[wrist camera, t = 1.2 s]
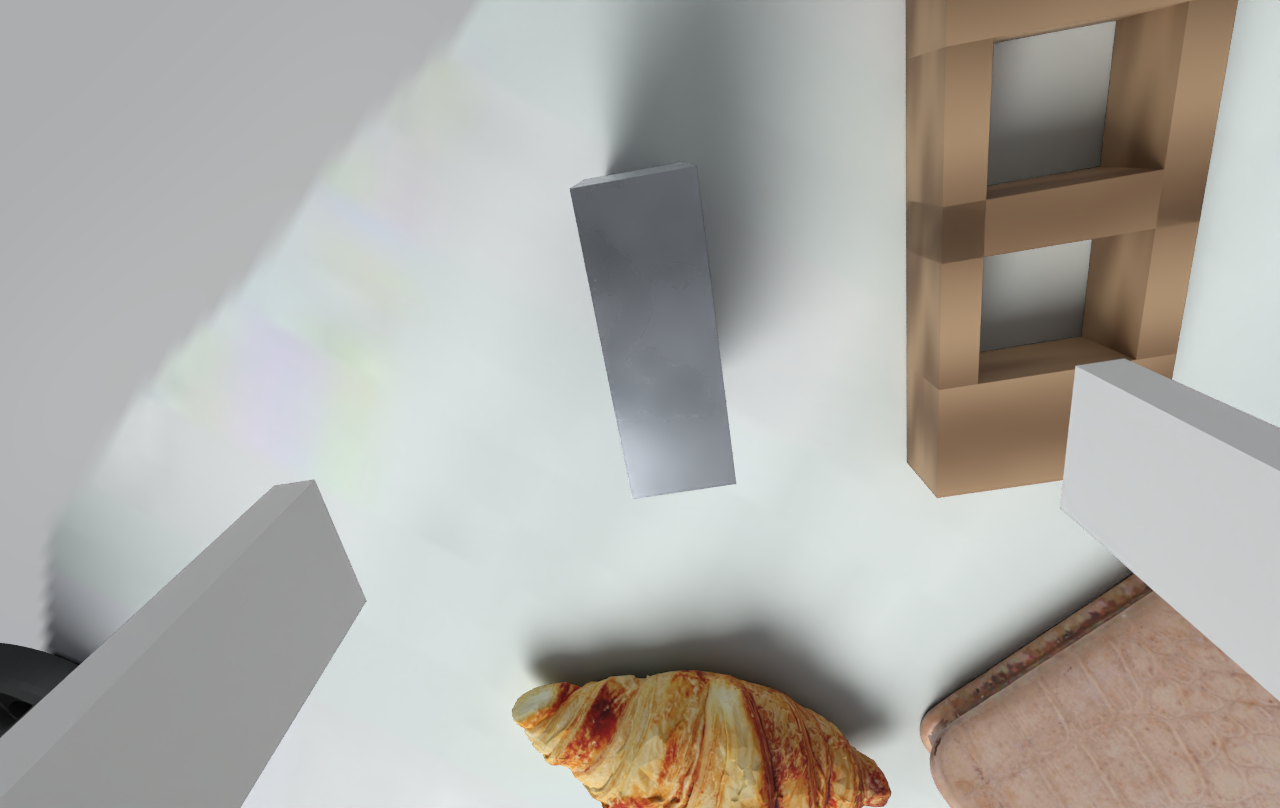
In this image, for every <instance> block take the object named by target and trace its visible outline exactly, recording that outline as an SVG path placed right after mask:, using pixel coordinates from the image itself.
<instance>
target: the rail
mask: <svg viewBox="0 0 1280 808" xmlns="http://www.w3.org/2000/svg"><path fill="white" fill-rule="evenodd" d="M1237 4H1238V0H906V292H907V463H908V464H909V465H910V467H911V468H912V469H913V470H914V471H915V473H916V474H917V475H918V476H919V477H920V478H921V480H922V481H923V482H924V483H925V484H926V486H927V487H928V488H929V489H930V490H931V491H932V493H933V494H934V495H935V496H936V497H937V498H940V497H947V496H954V495H961V494H968V493H975V492H982V491H989V490H996V489H1003V488H1010V487H1017V486H1024V485H1031V484H1038V483H1045V482H1052V481H1059V480H1063V475H1064V466H1065V457H1066V448H1067V439H1068V430H1069V421H1070V412H1071V403H1072V394H1073V385H1074V376H1075V367H1076V366H1077V365H1084V364H1091V363H1097V362H1104V361H1111V360H1118V359H1127V360H1129V361H1131V362H1133V363H1136V364H1138V365H1140V366H1142V367H1145V368H1147V369H1149V370H1151V371H1154V372H1156V373H1158V374H1160V375H1162V376H1165V377H1167V378H1169V379H1171V380H1172V376H1173V370H1174V364H1175V359H1176V353H1177V347H1178V341H1179V336H1180V330H1181V324H1182V319H1183V313H1184V307H1185V301H1186V296H1187V290H1188V284H1189V278H1190V273H1191V267H1192V261H1193V256H1194V250H1195V244H1196V238H1197V233H1198V227H1199V221H1200V216H1201V210H1202V204H1203V198H1204V193H1205V187H1206V181H1207V175H1208V170H1209V164H1210V158H1211V153H1212V147H1213V141H1214V135H1215V130H1216V124H1217V118H1218V113H1219V107H1220V101H1221V95H1222V90H1223V84H1224V78H1225V72H1226V67H1227V61H1228V55H1229V50H1230V44H1231V38H1232V32H1233V27H1234V21H1235V15H1236V9H1237ZM1115 20H1116V29H1115V38H1114V47H1113V56H1112V65H1111V74H1110V83H1109V92H1108V101H1107V110H1106V119H1105V128H1104V137H1103V146H1102V155H1101V164H1100V167H1094V168H1088V169H1083V170H1077V171H1071V172H1065V173H1060V174H1054V175H1048V176H1042V177H1037V178H1031V179H1025V180H1019V181H1013V182H1008V183H1002V184H996V185H990V186H987V171H988V149H989V127H990V105H991V83H992V61H993V43H997V42H1003V41H1008V40H1013V39H1019V38H1024V37H1029V36H1035V35H1040V34H1045V33H1051V32H1056V31H1061V30H1067V29H1072V28H1077V27H1083V26H1088V25H1093V24H1099V23H1104V22H1109V21H1115ZM1089 239H1092V245H1091V254H1090V263H1089V272H1088V281H1087V290H1086V299H1085V308H1084V317H1083V326H1082V335H1081V337H1074V338H1068V339H1061V340H1055V341H1049V342H1042V343H1036V344H1030V345H1023V346H1017V347H1010V348H1004V349H998V350H991V351H985V352H979V348H980V326H981V304H982V282H983V260H984V257H987V256H993V255H999V254H1005V253H1011V252H1017V251H1023V250H1029V249H1035V248H1041V247H1047V246H1053V245H1059V244H1065V243H1071V242H1077V241H1083V240H1089Z"/></svg>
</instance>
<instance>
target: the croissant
mask: <svg viewBox="0 0 1280 808" xmlns="http://www.w3.org/2000/svg"><path fill="white" fill-rule="evenodd" d="M512 717H513V720H514V722H516V723H517V724H518V725H520V726H521V727H523V728H524V729H525V733H526V735H527V736H528V738H529V739H530V741H532V742H533V744H532V745H533V746H534V747H535V748H536V749H537V750H538V751H539V752H540V753H542V754H543V756H544V758H545V760H546V762H548V763H549V764H550V765H562V766H566V767H568V768H569V769H571V770H572V773H573V775H574V777H576V778H577V779H578V780H580V781H581V782H582V784H583V785H584V786H585V787H586V788H587V790H588V792H589V793H590V795H591V796H592V797H593V798H594V799H596V800H598V801H600V802H601V803H602V806H603V808H862V807H863V806H872V807H882V806H884V805H885V804H886V803H887V801H888V799H889V797H890V796H891V790H890V788H889V785H888V782H887V780H886V778H885V776H884V774H883V772H882V771H881V770H880V768H879V767H878V766H877V764H876V763H875V761H874V760H872V759H870V758H869V757H867V756H866V755H864V754H862V753H860V752H858V751H857V750H856V748H855V747H852V746H851V745H850V744H849V742H848V741H847V739H846V738H845V737H844V735H843V734H842V733H841V731H840V730H839V729H838V728H837V727H836V726H835V725H834V724H833V723H832V722H830V721H827V720H826V719H825V718H824V716H821V715H819V714H817V713H816V712H814V711H813V710H811V709H809V708H804V707H802V706H801V705H799V704H798V703H796V702H795V701H794V700H792V699H791V698H790V697H789V696H787V695H786V694H785V693H783V692H780V691H778V690H775V689H772V688H769V687H767V686H763V685H759V684H755V683H750V682H747V681H744V680H739V679H736V678H735V677H733V676H731V675H725V674H718V673H712V672H702V671H698V670H684V671H670V672H665V673H659V674H655V675H652V676H649V675H647V676H646V678H636V677H635V675H624V676H612V677H609V678H607V679H605V680H601V681H599V682H595V681H591V682H589V683H586V684H585V685H584V686H583V687H580V686H577V685H574V684H571V683H568V682H562V683H554V684H548V685H544V686H540V687H537V688H534V689H532V690H530V691H528V692H527V693H525V694H523V695H522V696H521V697H520V698H519V699H518V700H517V702H516V703H515V705H514V708H513V709H512Z"/></svg>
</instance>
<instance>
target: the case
mask: <svg viewBox="0 0 1280 808" xmlns="http://www.w3.org/2000/svg"><path fill="white" fill-rule="evenodd" d="M920 736H921V740H922V742H923V744H924V746H925V748H926V749H927V750H928V751H929V753H930V769H931V774H932V777H933V780H934V782H935V784H936V786H937V788H938V790H939V792H940V793H941V795H942V796H943V798H944V799H945V800H946V802H947V803H948V805H949V806H950V807H951V808H1280V701H1279V700H1277V699H1276V698H1275V697H1274V696H1273V695H1272V694H1271V693H1270V692H1268V691H1267V690H1266V689H1265V688H1264V687H1263V686H1262V685H1260V684H1259V683H1258V682H1257V681H1256V680H1255V679H1254V678H1252V677H1251V676H1250V675H1249V674H1248V673H1247V672H1246V671H1244V670H1243V669H1242V668H1241V667H1240V666H1239V665H1238V664H1237V663H1235V662H1234V661H1233V660H1232V659H1231V658H1230V657H1229V656H1227V655H1226V654H1225V653H1224V652H1223V651H1222V650H1221V649H1219V648H1218V647H1217V646H1216V645H1215V644H1214V643H1213V642H1211V641H1210V640H1209V639H1208V638H1207V637H1206V636H1205V635H1204V634H1202V633H1201V632H1200V631H1199V630H1198V629H1197V628H1196V627H1194V626H1193V625H1192V624H1191V623H1190V622H1189V621H1188V620H1186V619H1185V618H1184V617H1183V616H1182V615H1181V614H1180V613H1179V612H1177V611H1176V610H1175V609H1174V608H1173V607H1172V606H1171V605H1169V604H1168V603H1167V602H1166V601H1165V600H1164V599H1163V598H1161V597H1160V596H1159V595H1158V594H1157V593H1156V592H1155V591H1153V590H1152V589H1151V588H1150V587H1149V586H1148V585H1147V584H1146V583H1144V582H1143V581H1142V580H1141V579H1140V578H1139V577H1138V576H1136V575H1135V574H1132V575H1131V576H1129V577H1128V578H1127V579H1125V580H1124V581H1122V582H1121V583H1119V584H1118V585H1116V586H1115V587H1113V588H1112V589H1110V590H1109V591H1107V592H1106V593H1104V594H1103V595H1101V596H1100V597H1098V598H1096V599H1095V600H1093V601H1092V602H1090V603H1089V604H1088V605H1086V606H1085V607H1083V608H1081V609H1080V610H1078V611H1077V612H1075V613H1074V614H1072V615H1071V616H1069V617H1068V618H1066V619H1065V620H1063V621H1062V622H1060V623H1059V624H1057V625H1056V626H1054V627H1053V628H1051V629H1049V630H1048V631H1047V632H1045V633H1044V634H1042V635H1041V636H1039V637H1038V638H1036V639H1035V640H1033V641H1032V642H1030V643H1029V644H1027V645H1026V646H1024V647H1023V648H1021V649H1020V650H1018V651H1016V652H1015V653H1013V654H1012V655H1011V656H1009V657H1008V658H1006V659H1005V660H1003V661H1001V662H1000V663H998V664H997V665H995V666H994V667H992V668H991V669H989V670H988V671H987V672H986V673H984V674H982V675H981V676H979V677H977V678H976V679H974V680H973V681H971V682H969V683H968V684H966V685H965V686H963V687H962V688H960V689H959V690H957V691H956V692H954V693H953V694H951V695H950V696H948V697H947V698H946V699H944V700H943V701H941V702H940V703H938V704H937V705H936V706H934V707H933V708H932V709H931V710H930V711H928V712H927V713H926V715H925V716H924V718H923V720H922V722H921V725H920Z"/></svg>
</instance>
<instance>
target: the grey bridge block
mask: <svg viewBox="0 0 1280 808" xmlns="http://www.w3.org/2000/svg"><path fill="white" fill-rule="evenodd" d="M570 192H571V197H572V202H573V207H574V212H575V217H576V222H577V227H578V232H579V237H580V242H581V247H582V252H583V257H584V262H585V267H586V272H587V277H588V282H589V287H590V291H591V296H592V301H593V306H594V311H595V316H596V321H597V326H598V331H599V336H600V341H601V346H602V351H603V356H604V361H605V366H606V371H607V376H608V381H609V386H610V391H611V396H612V400H613V405H614V410H615V415H616V420H617V425H618V430H619V435H620V440H621V445H622V450H623V455H624V460H625V465H626V470H627V475H628V480H629V485H630V490H631V495H632V499H636V498H643V497H650V496H657V495H663V494H670V493H677V492H684V491H691V490H697V489H704V488H711V487H718V486H725V485H731V484H736V478H735V470H734V463H733V455H732V447H731V439H730V431H729V423H728V415H727V407H726V399H725V391H724V383H723V375H722V367H721V359H720V351H719V343H718V335H717V327H716V319H715V311H714V303H713V295H712V287H711V279H710V271H709V263H708V255H707V247H706V239H705V231H704V223H703V215H702V207H701V199H700V191H699V183H698V175H697V167H696V166H695V165H693V164H690V163H687V162H679V163H673V164H668V165H662V166H657V167H651V168H646V169H640V170H634V171H629V172H623V173H618V174H612V175H607V176H601V177H596V178H590V179H585V180H583V181H581V182H580V183H578V184H577V185H575V186H573V187H572V188H570Z"/></svg>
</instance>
